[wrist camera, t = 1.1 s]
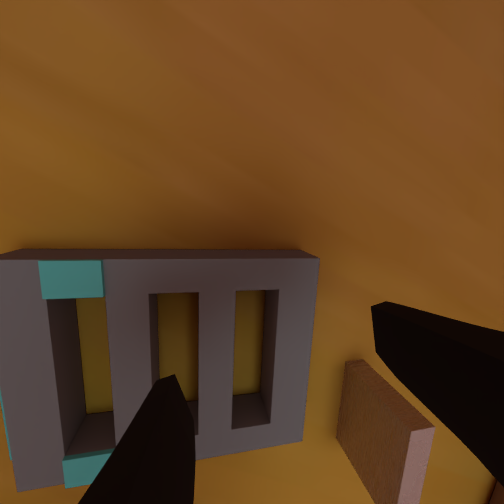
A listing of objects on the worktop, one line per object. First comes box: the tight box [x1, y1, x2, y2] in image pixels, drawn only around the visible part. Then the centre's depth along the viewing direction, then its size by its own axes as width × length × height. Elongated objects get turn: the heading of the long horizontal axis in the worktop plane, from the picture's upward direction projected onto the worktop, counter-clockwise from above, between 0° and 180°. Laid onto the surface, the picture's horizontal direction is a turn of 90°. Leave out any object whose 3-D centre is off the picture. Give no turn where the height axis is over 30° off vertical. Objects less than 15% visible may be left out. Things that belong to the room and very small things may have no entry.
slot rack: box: [0, 249, 320, 492], centre depth 16 cm, size 14×18×3 cm
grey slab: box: [336, 360, 435, 504], centre depth 19 cm, size 8×2×7 cm, turn 177°
